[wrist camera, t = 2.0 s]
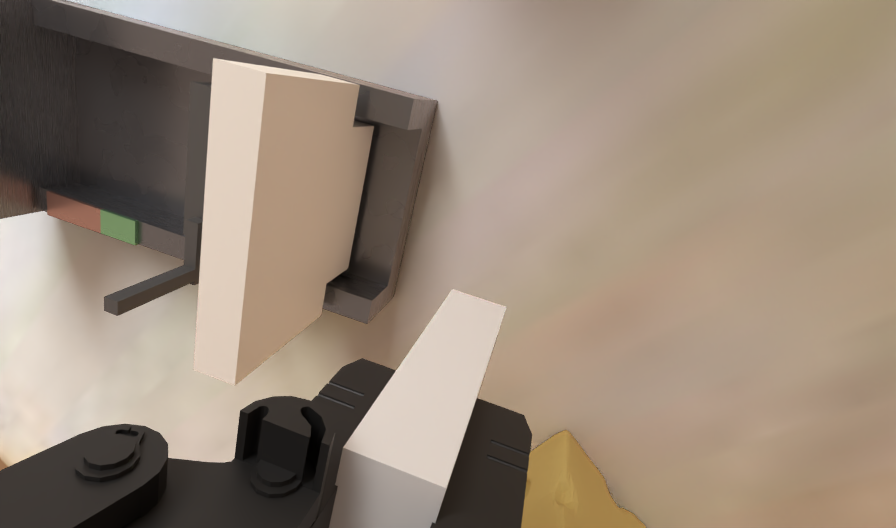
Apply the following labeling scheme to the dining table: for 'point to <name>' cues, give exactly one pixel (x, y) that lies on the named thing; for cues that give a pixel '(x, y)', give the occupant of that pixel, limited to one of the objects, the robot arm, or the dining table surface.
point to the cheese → (569, 490)
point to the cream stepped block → (273, 209)
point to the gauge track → (169, 136)
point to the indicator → (192, 213)
